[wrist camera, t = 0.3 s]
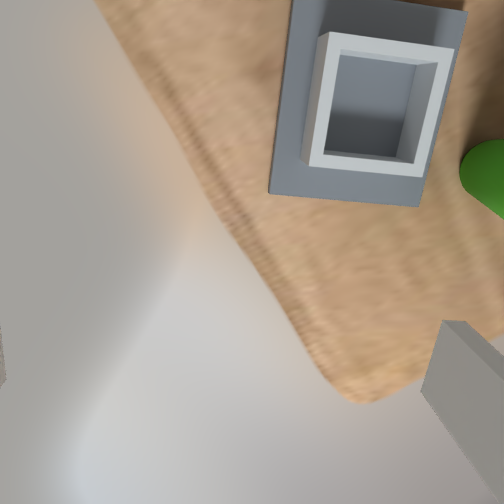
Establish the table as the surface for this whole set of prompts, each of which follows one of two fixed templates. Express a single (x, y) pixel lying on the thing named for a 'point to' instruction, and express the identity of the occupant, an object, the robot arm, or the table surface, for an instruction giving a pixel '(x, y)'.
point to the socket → (362, 99)
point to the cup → (485, 174)
